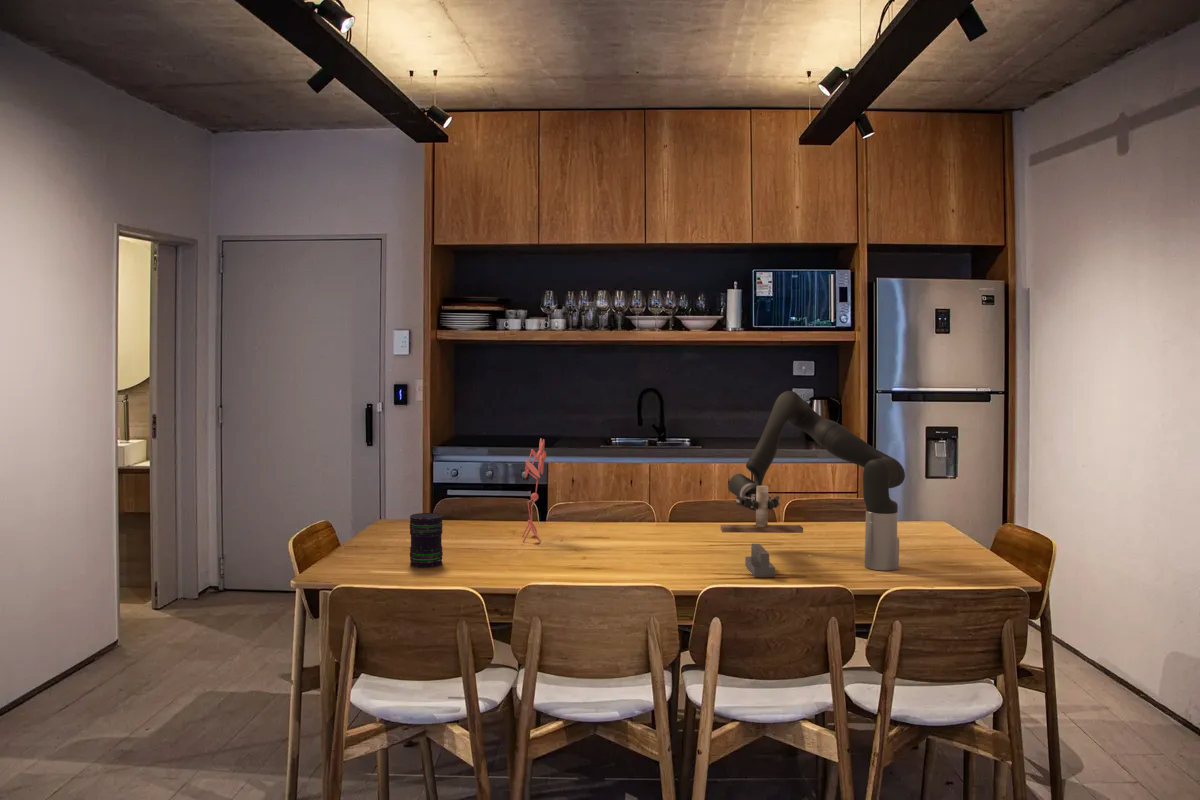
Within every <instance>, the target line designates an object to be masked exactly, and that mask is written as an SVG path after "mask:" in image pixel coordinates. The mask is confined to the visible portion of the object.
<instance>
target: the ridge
mask: <svg viewBox="0 0 1200 800" xmlns="http://www.w3.org/2000/svg"><path fill="white" fill-rule="evenodd" d="M750 545H751V552H750V553H751V556H744V557H745V561H744V562H745V564H744V567H745V566H746V567H747V568H746V567H745V568H746V570H748V572H749V571H750V572H751V573H752V574H751V573H750V572H749V573H750V574H751V576H752V577H753V576H754V577H775V578H776V567H775V566H774V565H773V563H771V562H770V553H769V552H768V551H767V550H766V549H765V548H764V546H762V545H761V544H760V543H751V544H750ZM754 577H753V578H754Z"/></svg>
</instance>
